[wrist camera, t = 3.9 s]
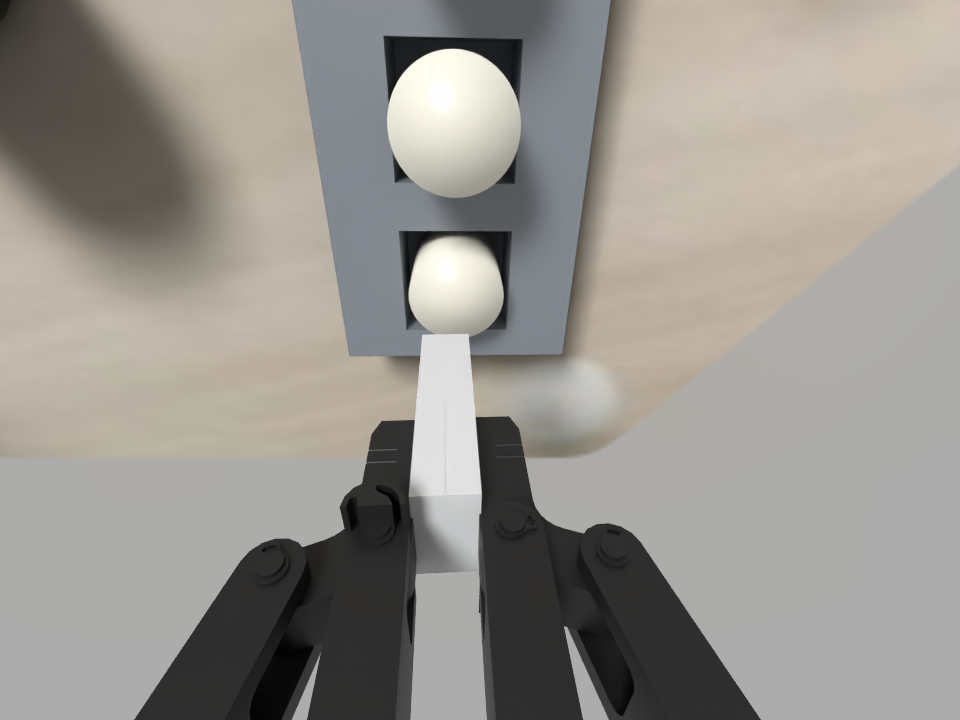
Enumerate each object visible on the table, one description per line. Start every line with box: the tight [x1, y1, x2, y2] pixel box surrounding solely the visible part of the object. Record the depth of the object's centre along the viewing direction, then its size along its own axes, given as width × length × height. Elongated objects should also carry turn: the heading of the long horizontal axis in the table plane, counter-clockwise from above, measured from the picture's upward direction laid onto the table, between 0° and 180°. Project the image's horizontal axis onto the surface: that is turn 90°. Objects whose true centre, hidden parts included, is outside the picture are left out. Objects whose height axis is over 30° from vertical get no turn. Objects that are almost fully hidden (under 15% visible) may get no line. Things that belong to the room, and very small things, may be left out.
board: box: [292, 0, 611, 356], centre depth 19 cm, size 11×22×4 cm, turn 179°
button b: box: [387, 49, 521, 198], centre depth 16 cm, size 4×4×4 cm
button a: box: [409, 231, 504, 337], centre depth 22 cm, size 4×4×4 cm
